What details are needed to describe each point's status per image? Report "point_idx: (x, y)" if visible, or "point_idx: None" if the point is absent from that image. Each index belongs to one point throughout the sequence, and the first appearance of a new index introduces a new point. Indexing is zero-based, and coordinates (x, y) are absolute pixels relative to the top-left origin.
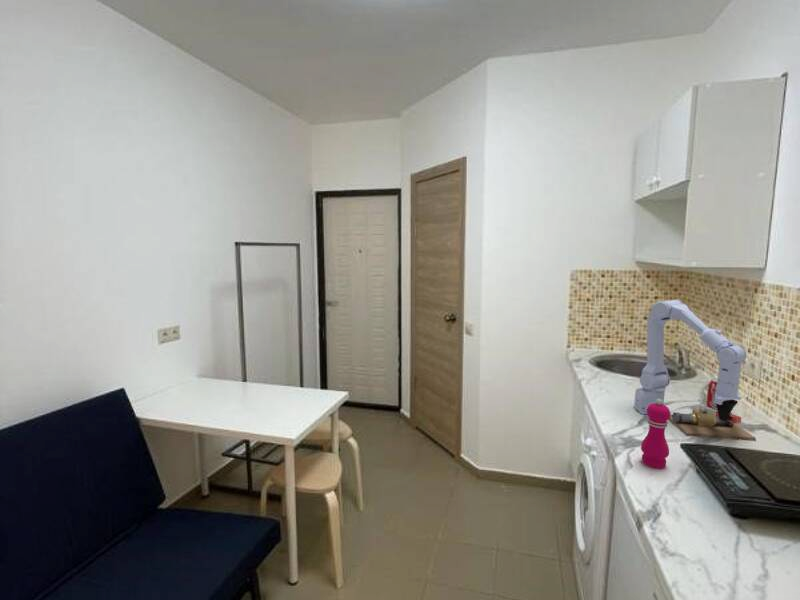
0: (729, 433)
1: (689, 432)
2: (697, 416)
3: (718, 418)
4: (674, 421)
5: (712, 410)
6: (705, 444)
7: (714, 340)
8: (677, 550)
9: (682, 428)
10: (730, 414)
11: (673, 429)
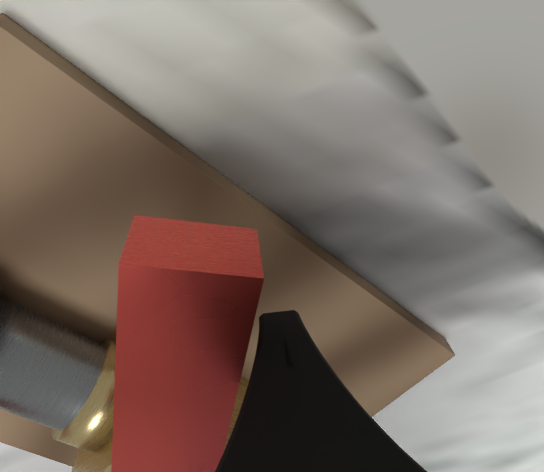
0: (162, 215)
1: (433, 352)
2: None
3: (67, 389)
4: None
5: None
6: (516, 218)
7: None
8: None
9: (394, 397)
10: (162, 377)
11: (400, 409)
